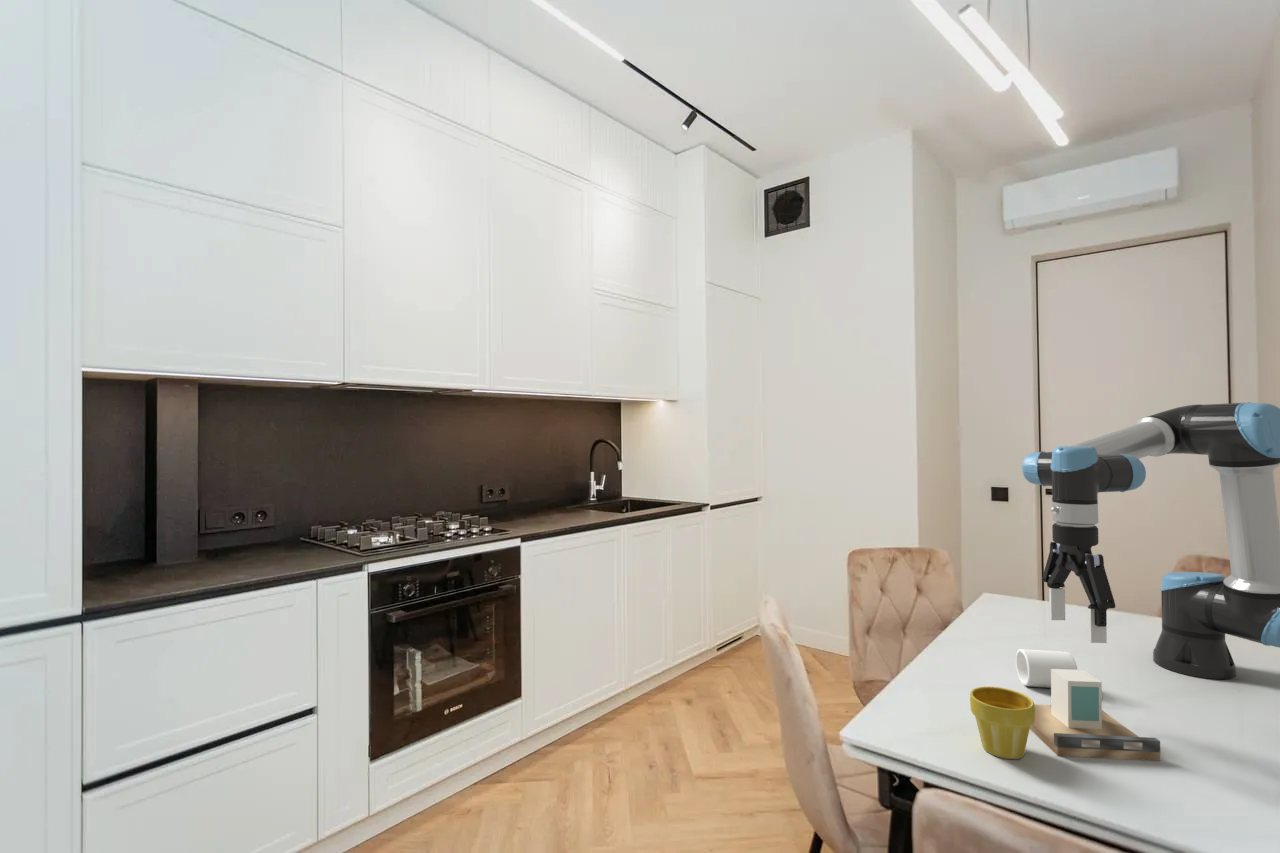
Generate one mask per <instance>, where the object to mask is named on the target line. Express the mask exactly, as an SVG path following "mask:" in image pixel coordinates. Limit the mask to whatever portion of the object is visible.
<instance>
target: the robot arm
mask: <svg viewBox="0 0 1280 853" xmlns="http://www.w3.org/2000/svg"><path fill="white" fill-rule="evenodd" d="M1169 454H1173V455H1174V454H1177V455H1178V454H1179V455H1180V454H1185V455H1186V454H1187V455H1204V456H1206V455H1207V457H1208V464H1209V467H1211V468H1212V469H1214V470H1216V471H1218V473H1219V482H1220V490H1221V499H1222V509H1223V515H1224V523H1225V532H1226V540H1227V548H1228V555H1229V556H1228V557H1229V565H1230V566H1229V567H1230V574H1229V576H1227V577H1225V576H1224V575H1223V574H1221V573H1214V572H1204V571H1199V572H1198V571H1178V572H1177V571H1175V572H1173V571H1172V572H1167V573H1165V574H1164V575H1163V576H1162V578H1161V588H1160V592H1161V594H1160V595H1161V632H1160V635H1159V637H1158V639H1157V641H1156V644H1155V647H1154V648H1153V650H1152V651H1153V652H1152V661H1153V662H1154V663H1155V664H1156V665H1158V666H1160V667H1161V668H1162V667H1163V668H1165V669H1167V670H1169V671H1172V672H1175V673H1179V674H1183V675H1187V676H1191V677H1198V678H1203V679H1210V680H1211V679H1212V680H1225V679H1226V680H1229V679H1233V678H1235V677H1236V676H1237V674H1236V672H1237V670H1236V664H1235V662H1234V659H1233V657H1232V654H1231V652H1230V649H1229V647H1228V644H1227V642H1226V635H1229V636H1233V637H1236V638H1239V639H1243V640H1248V641H1251V642H1254V643H1258V644H1262V645H1263V646H1268V647H1270V646H1271V647H1276V648H1279V649H1280V519H1279V513H1278V512H1279V511H1278V503H1277V495H1276V486H1275V478H1274V470H1275V469H1277V468H1278V467H1279V466H1280V407H1278V406H1276V405H1274V404H1271V403H1265V402H1264V403H1261V402H1260V403H1259V402H1248V401H1247V402H1235V403H1234V402H1233V403H1231V402H1230V403H1213V404H1212V403H1211V404H1209V403H1208V404H1188V405H1184V406H1179V407H1174V408H1171V409H1168V410H1164V411H1160V412H1157V413H1154V414H1151V415H1149V416H1145V417H1143V418H1139V419H1138V420H1136V421H1135V422H1134V423H1133V424H1132V425H1131V426H1128V427H1125V428H1122V429H1120V430H1116V431H1112V432H1110V433H1107V434H1104V435H1101V436H1097V437H1094V438H1091V439H1087V440H1085V441H1082V442H1079V443H1075V444H1073V445H1070V446H1067V445H1066V446H1065V445H1063V446H1061V445H1060V446H1056V447H1054V448H1053V449H1052V450H1051V451H1048V452H1046V451H1034V452H1031V453H1028V454H1027V455H1026V456H1025V457H1024V459H1023V462H1022V465H1021V466H1022V467H1021V469H1022V475H1023V477H1024V479H1025V480H1026V481H1028V482H1029V483H1031V484H1033V485H1039V486H1042V487H1051V490H1052V491H1051V495H1052V497H1051V502H1052V504H1051V505H1052V506H1051V507H1050V512H1052V515H1051V516H1052V521H1054V522H1055V523H1053V524H1052V528H1051V529H1052V530H1051V531H1052V535H1051V536H1052V541H1051V542H1049V543H1050V544H1049V553H1048V556H1047V560H1046V564H1045V567H1044V571H1043V574H1042V579H1041V580H1042V582H1043V583H1046V585H1047V587H1048V591H1049V592H1048V593H1049V594H1048V596H1049V597H1048V601H1049V602H1048V604H1049V605H1048V606H1049V620H1051V621H1066V589H1065V588H1066V585H1065V582H1066V580H1067V579H1068V577H1069V575H1070V573H1071V572H1074V575H1075V576H1077V577H1078V578H1079V580H1080V582H1081V584H1082V587H1083V590H1084V592H1085V594H1086V597H1087V598H1088V601H1089V605H1088V606H1087V608H1088V609H1087V610H1088V611H1087V612H1088V642H1089V643H1090V644H1092V643H1093V644H1107V643H1108V642H1107V623H1108V622H1107V620H1108V619H1107V614H1108V613H1107V611H1108V610H1109V609H1115V608H1116V602H1115V600H1114V596H1113V592H1112V589H1111V586H1110V582H1109V579H1108V576H1107V572H1106V569H1105V561H1104V556H1103V554H1100V553H1099V554H1093V552H1092V547H1095V546H1097V545H1099V528H1098V527H1097V524H1098V523H1099V503H1098V501H1099V500H1098V495H1099V493H1111V492H1113V493H1114V492H1121V493H1125V492H1128V491H1133V490H1136V489H1138V488H1140V487H1141V486H1142V485H1143V484H1144V483H1145V481H1146V476H1147V471H1146V467H1145V465H1144V463H1143V462H1142V461H1141V460H1140V459H1141V458H1142V459H1143V458H1146V457H1155V458H1156V457H1162V456H1165V455H1169Z"/></svg>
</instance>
